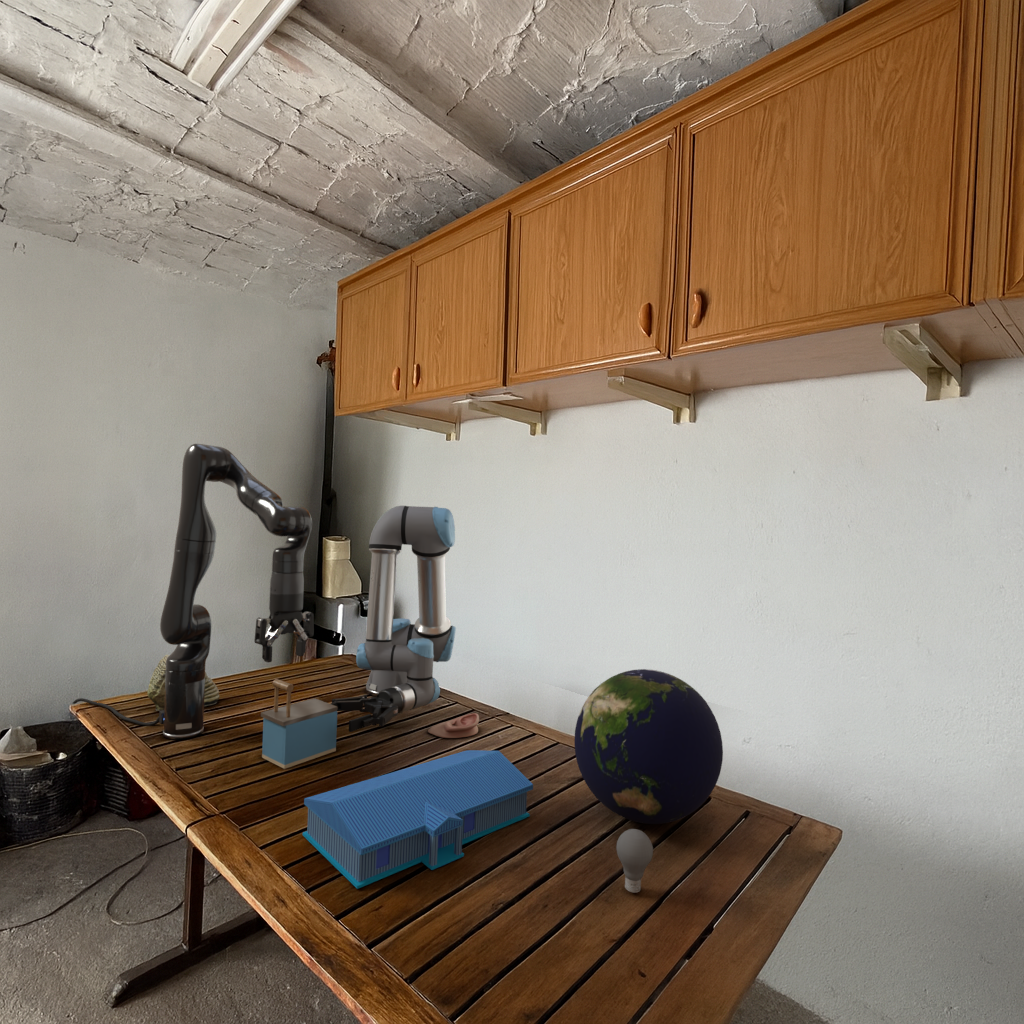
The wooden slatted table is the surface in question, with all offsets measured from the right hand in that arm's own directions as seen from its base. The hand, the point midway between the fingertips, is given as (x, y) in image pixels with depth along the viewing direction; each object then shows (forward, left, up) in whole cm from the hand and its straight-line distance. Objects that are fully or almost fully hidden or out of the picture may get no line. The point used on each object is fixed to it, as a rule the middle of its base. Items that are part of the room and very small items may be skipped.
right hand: (332, 719), depth 161 cm
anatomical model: (-20, +26, -7) cm, 33 cm away
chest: (+7, -5, -7) cm, 11 cm away
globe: (+13, +78, -7) cm, 79 cm away
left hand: (+12, -7, +18) cm, 22 cm away
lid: (+7, -5, +3) cm, 10 cm away
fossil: (-13, -54, -7) cm, 56 cm away
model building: (+31, +37, -7) cm, 49 cm away
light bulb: (+40, +76, -7) cm, 87 cm away
